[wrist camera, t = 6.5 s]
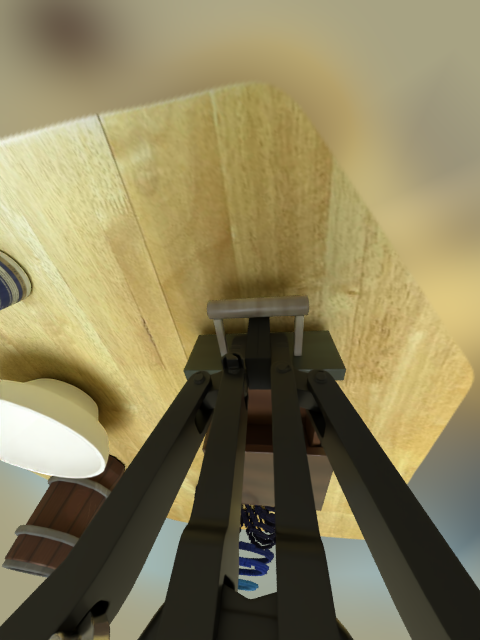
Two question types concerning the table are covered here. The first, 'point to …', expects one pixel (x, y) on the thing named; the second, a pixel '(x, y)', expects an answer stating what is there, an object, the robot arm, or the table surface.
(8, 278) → the pill bottle
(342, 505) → the table surface
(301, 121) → the table surface
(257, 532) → the blue openwork dome
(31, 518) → the mug
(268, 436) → the drawer
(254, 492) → the cabinet
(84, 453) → the bowl
